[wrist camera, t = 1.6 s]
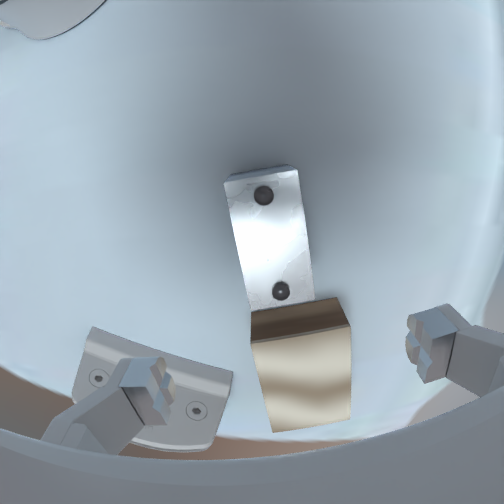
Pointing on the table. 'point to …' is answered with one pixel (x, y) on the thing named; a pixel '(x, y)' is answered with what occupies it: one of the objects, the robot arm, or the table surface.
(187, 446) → the hinge
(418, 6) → the table surface
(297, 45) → the table surface
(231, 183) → the block
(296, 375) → the stand
